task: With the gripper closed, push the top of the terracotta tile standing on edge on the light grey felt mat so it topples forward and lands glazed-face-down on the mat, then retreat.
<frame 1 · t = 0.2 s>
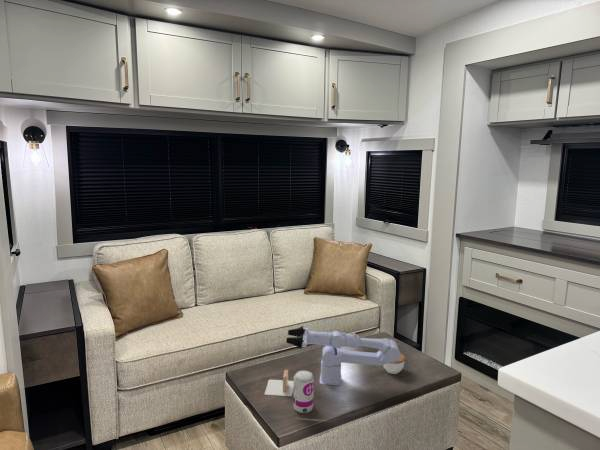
hand: (287, 336, 187), 21 cm above the table, tool horizontal, fingers open, 7 cm apart
supplement can: (303, 408, 168), on the table
mat: (279, 388, 182), on the table
tile: (285, 387, 182), point 1 cm above the table, touching mat
lidded jar: (392, 371, 198), on the table
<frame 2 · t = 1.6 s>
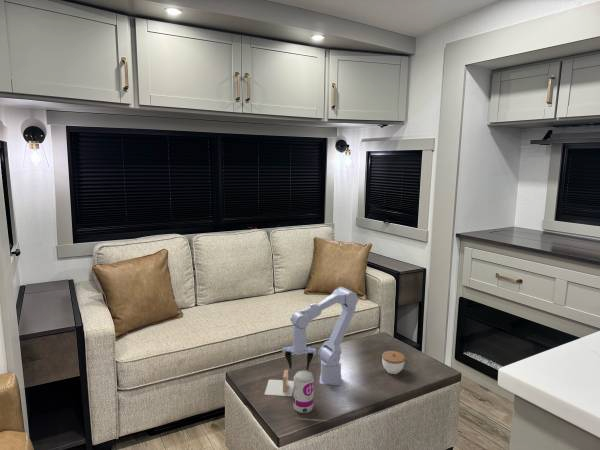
hand: (299, 368, 180), 10 cm above the table, tool pointing down, fingers open, 7 cm apart
nothing on the table moved.
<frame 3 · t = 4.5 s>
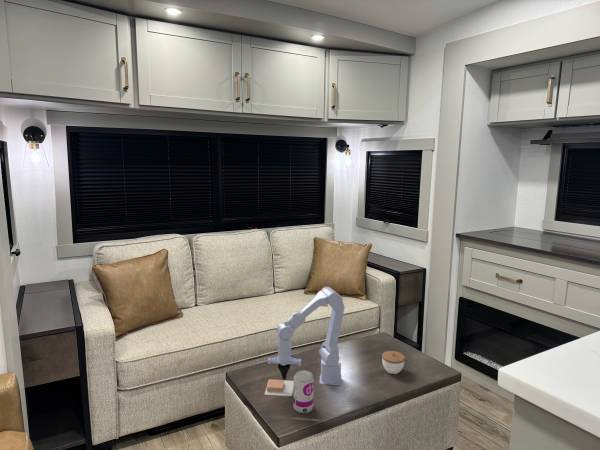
hand: (284, 378, 181), 5 cm above the table, tool pointing down, fingers closed
tile: (283, 385, 182), point 1 cm above the table, tilted 90°, touching mat
everything else where it was.
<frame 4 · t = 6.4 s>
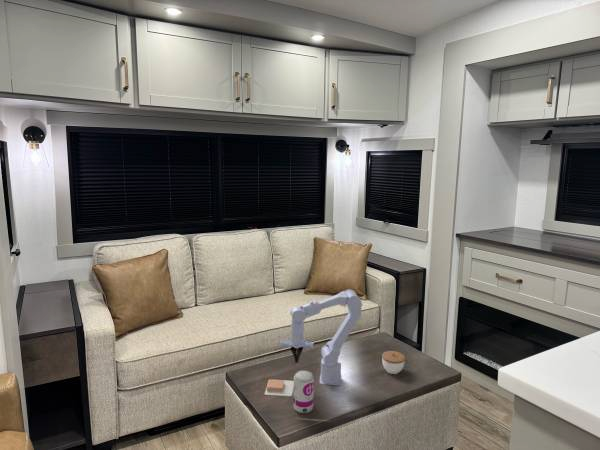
hand: (296, 361, 186), 10 cm above the table, tool pointing down, fingers closed
nothing on the table moved.
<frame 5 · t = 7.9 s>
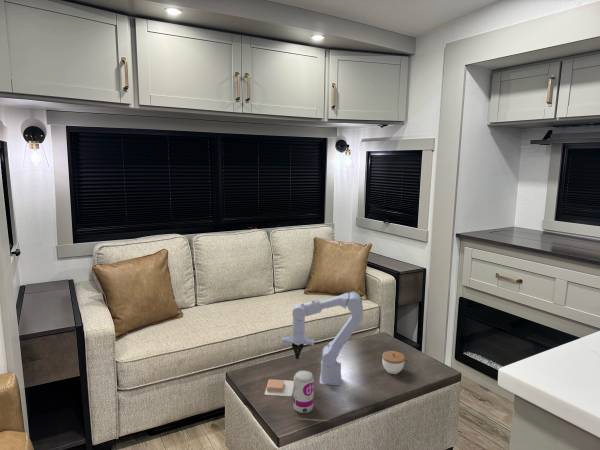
hand: (297, 358, 189), 10 cm above the table, tool pointing down, fingers closed
nothing on the table moved.
at the end: tile tilted 90°; tile inside the target area (3.1 cm from its centre), point 1.5 cm above the table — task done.
